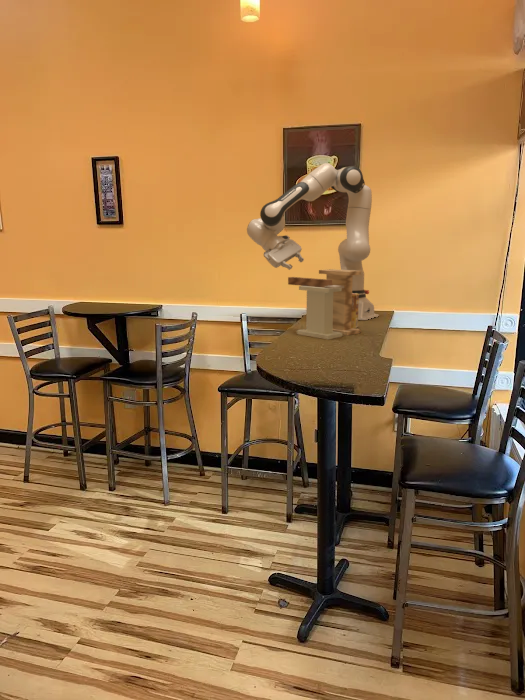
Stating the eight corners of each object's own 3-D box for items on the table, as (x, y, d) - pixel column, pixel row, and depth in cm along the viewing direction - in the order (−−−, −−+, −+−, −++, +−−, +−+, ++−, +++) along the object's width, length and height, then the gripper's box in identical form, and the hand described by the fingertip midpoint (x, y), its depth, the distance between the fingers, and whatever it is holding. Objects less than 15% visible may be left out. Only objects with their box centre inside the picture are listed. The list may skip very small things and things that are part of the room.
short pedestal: (311, 331, 229) (312, 284, 225) (342, 336, 217) (343, 287, 213) (296, 333, 223) (297, 286, 219) (327, 339, 211) (328, 289, 207)
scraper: (285, 284, 226) (285, 277, 225) (295, 283, 230) (295, 276, 229) (334, 289, 206) (334, 281, 206) (344, 288, 210) (344, 280, 210)
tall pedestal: (329, 327, 237) (331, 269, 232) (360, 332, 225) (362, 270, 219) (316, 330, 231) (317, 270, 226) (346, 335, 219) (348, 271, 213)
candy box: (358, 327, 238) (359, 293, 235) (355, 329, 234) (356, 294, 231) (339, 326, 242) (340, 292, 239) (336, 327, 238) (337, 293, 235)
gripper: (263, 248, 237) (286, 267, 235) (289, 234, 251) (311, 252, 248) (259, 259, 242) (281, 277, 239) (284, 244, 255) (306, 261, 253)
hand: (297, 264), depth 244 cm, fingers open, 8 cm apart
